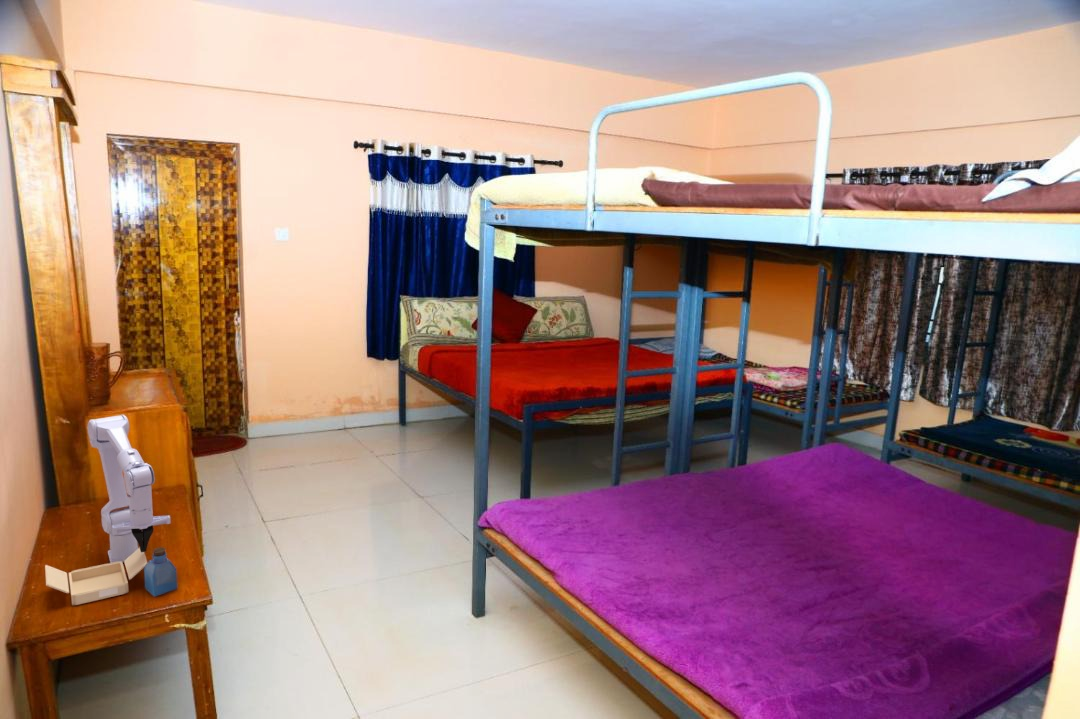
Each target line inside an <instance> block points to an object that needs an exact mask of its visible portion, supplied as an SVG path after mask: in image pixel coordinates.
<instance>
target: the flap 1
mask: <svg viewBox="0 0 1080 719" xmlns="http://www.w3.org/2000/svg"><path fill="white" fill-rule="evenodd" d="M44 570H45V575H44V576H45V586H46V587H49V588H52V589H54V590H57V591H60V592H63V593H64V594H65V593H66V594H69V593H70V585H69V577H68V573H67V572H65V571H63V570H60V569H58V568H56V567H53V566H50V565H48V564H45V565H44Z"/></svg>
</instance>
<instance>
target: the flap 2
mask: <svg viewBox="0 0 1080 719" xmlns="http://www.w3.org/2000/svg"><path fill="white" fill-rule="evenodd" d="M148 562H149V561H148V560H147V556H146V554H145V552H141V551H140V546H138V549H137V550H136V551H135V552H134V553H133V554H131V555H130V556H129V557H128V558H127V559H126V560H125V561H124V562H123V563H124V565H125V568H126V572H127V576H128V580H129V581H130V580H132V579H133V578H134V577H135V576H136V575H138V574H139V573H140V572H141V570H144V568H145V566H146V565H147V563H148Z"/></svg>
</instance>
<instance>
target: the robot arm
mask: <svg viewBox="0 0 1080 719" xmlns="http://www.w3.org/2000/svg"><path fill="white" fill-rule="evenodd" d="M129 432H130V421H129V418H128V417H127V415H125V414H120V415H114V416H108V417H107V416H106V417H101V418H96V419H89V421H88V422H87V435H88V439H89V443H90V446H91V448H94V449H97V451H98V453H99V456H100V461H101V464H102V471H103V475H104V479H105V485H106V489H107V490H106V491H107V493H108V498H109V499H108V500H109V501H108V502H107V503H106V504H105V505H104V506H103V507H102V508H101V511H100V516H101V520H100V521H101V526H102V529H103V531H104V532H105V533H107V534H109V549H108V550H107V555H108V558H109V559H108V560H109V563H113V562H118V561H119V562H122V563H125V562H124V561H125V560H126V559H127V558H128V557H129V556H130V555H131V554H133V553H134V552H135V551H136V550H137V549H138V548H139V547H140V551H141V552H144V553H145V552H147V551H148V550H147V548H148V544H149V542H150V539H151V537H152V535H153V533H154V526H159V525H165V524H166V525H169V524H171V515H170V514H169V515H156V516H154V515H153V514H154V512H153V498H152V497H153V495H152V485H153V484H155V480H156V479H155V472H154V470H153V467H152V465H150V464H148V462H146V463H145V461H144V460H143V457H142V456H141V454H140V453H139V451H138V450H137V449H136V448H133V447H132V445H131V443H130V440H129V437H128V435H129Z"/></svg>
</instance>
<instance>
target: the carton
mask: <svg viewBox="0 0 1080 719" xmlns="http://www.w3.org/2000/svg"><path fill="white" fill-rule="evenodd" d="M123 563H124V562H119V561H118V562H113V563H110V562H109V563H104V564H100V565H99V564H98V565H93V566H89V567H86V568H79V569H74V570H71V572H68V585H69V593H70V598H71V605H72V606H78V605H82V604H86V603H91V602H96V601H99V600H104V599H108V598H111V597H116V596H120V595H125V594H128V593H129V582H128V578H127V574H126V571H125V567H124V564H123Z"/></svg>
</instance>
